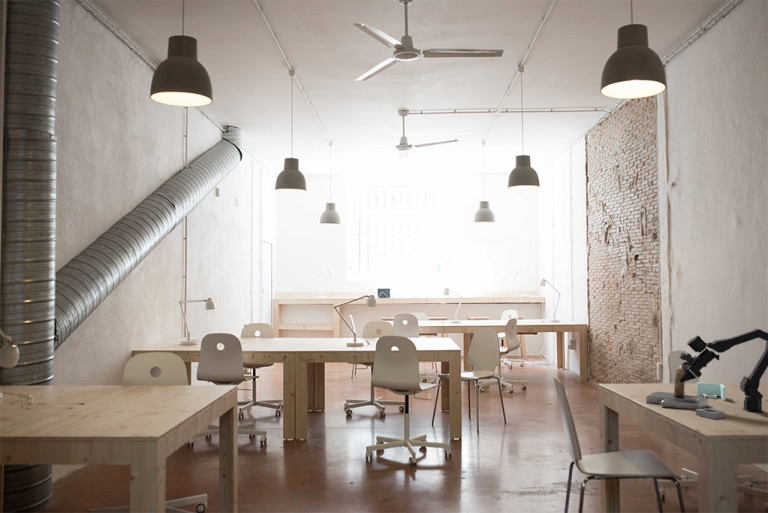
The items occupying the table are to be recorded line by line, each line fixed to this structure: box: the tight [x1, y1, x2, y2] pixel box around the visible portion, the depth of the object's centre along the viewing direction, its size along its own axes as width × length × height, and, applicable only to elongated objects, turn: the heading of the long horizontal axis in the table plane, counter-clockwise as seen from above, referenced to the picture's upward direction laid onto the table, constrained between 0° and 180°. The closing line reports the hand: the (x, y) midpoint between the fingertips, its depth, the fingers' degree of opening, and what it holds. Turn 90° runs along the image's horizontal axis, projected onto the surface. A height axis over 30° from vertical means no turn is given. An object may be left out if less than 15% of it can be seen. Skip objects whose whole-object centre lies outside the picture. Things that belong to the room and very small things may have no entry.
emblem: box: [645, 391, 709, 410], centre depth 294 cm, size 28×5×28 cm
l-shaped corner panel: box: [696, 381, 726, 401], centre depth 314 cm, size 12×12×8 cm
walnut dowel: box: [673, 367, 686, 396], centre depth 293 cm, size 4×4×13 cm
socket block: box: [695, 407, 725, 420], centre depth 268 cm, size 8×8×2 cm
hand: (678, 380), depth 293 cm, fingers open, 9 cm apart
